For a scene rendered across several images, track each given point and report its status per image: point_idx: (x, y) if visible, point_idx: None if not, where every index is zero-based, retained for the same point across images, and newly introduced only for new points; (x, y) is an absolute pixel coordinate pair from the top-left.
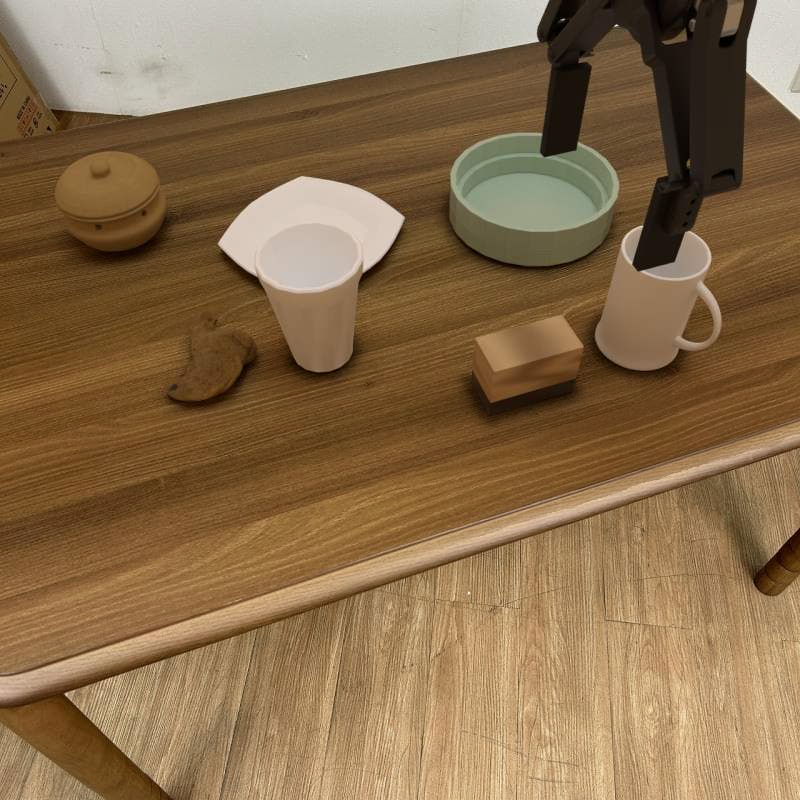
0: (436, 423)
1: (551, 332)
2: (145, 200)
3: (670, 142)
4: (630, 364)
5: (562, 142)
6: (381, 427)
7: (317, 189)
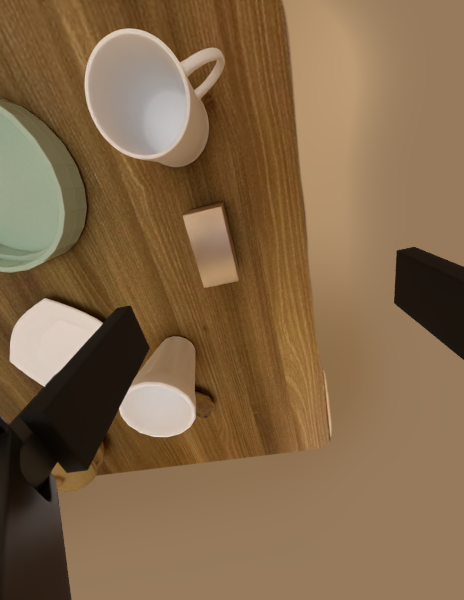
0: (239, 296)
1: (203, 230)
2: None
3: None
4: (204, 144)
5: (134, 338)
6: (238, 325)
7: (24, 352)
